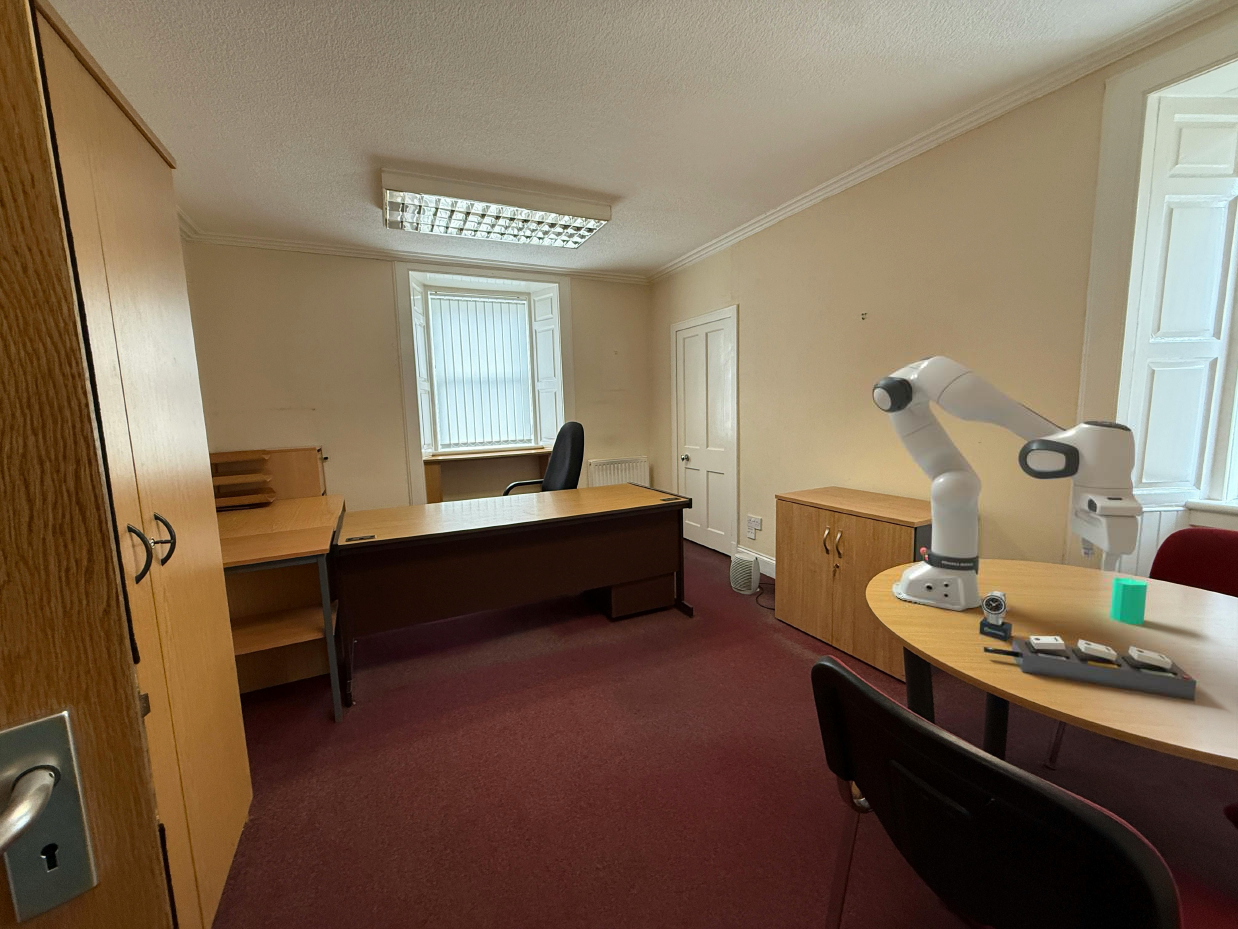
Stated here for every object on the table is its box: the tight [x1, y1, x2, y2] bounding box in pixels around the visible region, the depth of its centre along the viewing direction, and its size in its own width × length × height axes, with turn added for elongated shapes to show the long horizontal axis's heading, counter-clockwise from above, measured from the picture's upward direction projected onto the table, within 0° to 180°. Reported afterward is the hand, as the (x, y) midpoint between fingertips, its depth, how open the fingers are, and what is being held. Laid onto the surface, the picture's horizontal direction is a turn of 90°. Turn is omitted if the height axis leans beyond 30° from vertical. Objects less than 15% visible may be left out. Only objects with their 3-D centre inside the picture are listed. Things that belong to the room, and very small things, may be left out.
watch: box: [978, 590, 1013, 642], centre depth 119 cm, size 6×8×11 cm
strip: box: [983, 637, 1197, 702], centre depth 102 cm, size 32×8×4 cm, turn 63°
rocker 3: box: [1128, 645, 1172, 669], centre depth 97 cm, size 5×3×2 cm, turn 63°
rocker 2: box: [1077, 638, 1117, 660], centre depth 100 cm, size 5×3×2 cm, turn 63°
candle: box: [1109, 574, 1148, 626], centre depth 124 cm, size 6×6×12 cm
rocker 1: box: [1029, 635, 1066, 649], centre depth 104 cm, size 5×3×2 cm, turn 63°
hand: (1097, 563), depth 101 cm, fingers open, 8 cm apart
